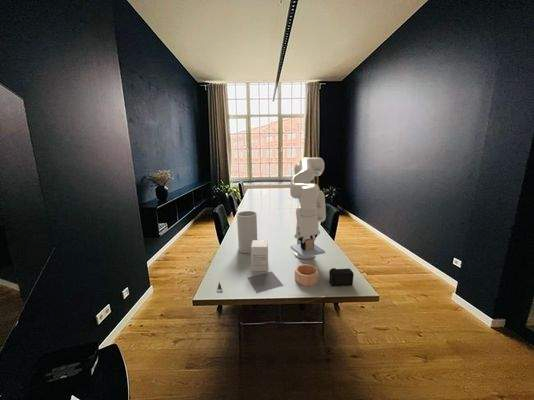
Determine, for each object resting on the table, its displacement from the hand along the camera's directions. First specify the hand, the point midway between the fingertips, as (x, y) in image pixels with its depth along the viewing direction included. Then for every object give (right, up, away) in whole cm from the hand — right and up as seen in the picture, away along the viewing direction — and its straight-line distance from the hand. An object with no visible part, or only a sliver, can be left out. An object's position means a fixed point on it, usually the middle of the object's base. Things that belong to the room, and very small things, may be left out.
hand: (307, 248), depth 107 cm
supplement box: (-23, -15, +17) cm, 32 cm away
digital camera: (+17, -18, +1) cm, 24 cm away
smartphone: (-40, -19, +4) cm, 45 cm away
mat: (-21, -18, +3) cm, 28 cm away
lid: (0, -1, 0) cm, 1 cm away
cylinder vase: (-32, -10, +40) cm, 52 cm away
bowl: (0, -17, +4) cm, 18 cm away
